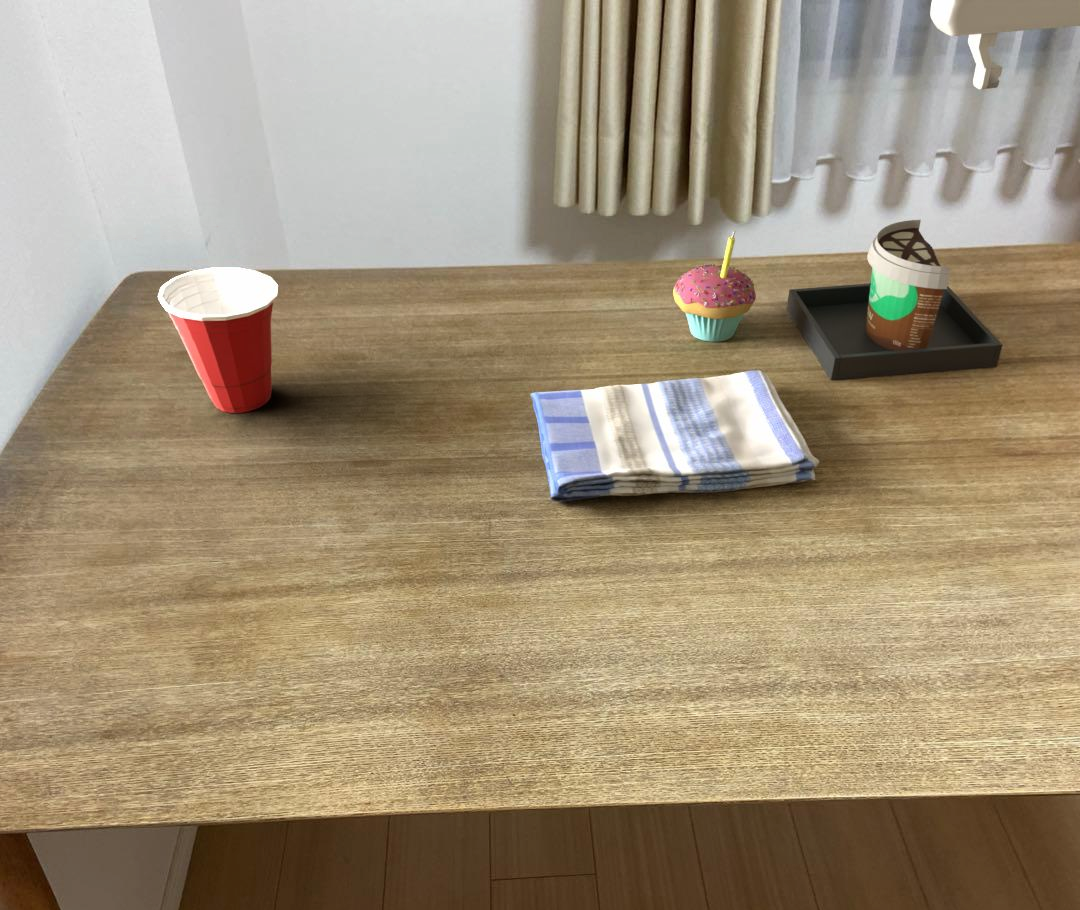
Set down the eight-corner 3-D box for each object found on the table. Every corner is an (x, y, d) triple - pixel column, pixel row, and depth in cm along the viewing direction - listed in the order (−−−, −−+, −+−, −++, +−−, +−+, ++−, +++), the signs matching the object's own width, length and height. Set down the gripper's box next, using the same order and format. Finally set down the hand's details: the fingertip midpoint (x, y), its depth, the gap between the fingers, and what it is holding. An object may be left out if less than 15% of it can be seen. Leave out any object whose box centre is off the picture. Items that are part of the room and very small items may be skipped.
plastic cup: (308, 413, 99) (285, 301, 92) (195, 437, 97) (161, 323, 89) (290, 361, 107) (267, 254, 100) (184, 382, 105) (153, 273, 97)
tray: (935, 298, 114) (940, 277, 113) (996, 366, 103) (1003, 344, 101) (786, 310, 113) (789, 289, 112) (830, 380, 102) (834, 358, 100)
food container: (843, 306, 113) (859, 218, 106) (900, 305, 112) (919, 217, 106) (867, 362, 103) (886, 269, 97) (928, 362, 103) (952, 269, 96)
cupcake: (767, 335, 109) (781, 227, 101) (707, 359, 105) (717, 249, 98) (713, 306, 114) (723, 201, 107) (654, 327, 111) (660, 221, 103)
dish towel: (820, 487, 88) (825, 461, 86) (550, 511, 87) (550, 485, 85) (765, 384, 101) (768, 359, 100) (530, 402, 100) (529, 378, 98)
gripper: (1191, -123, 81) (1135, 62, 90) (941, -104, 80) (909, 81, 89) (1241, -112, 76) (1177, 83, 85) (975, -91, 75) (938, 103, 84)
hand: (1038, 82), depth 87 cm, fingers open, 8 cm apart
